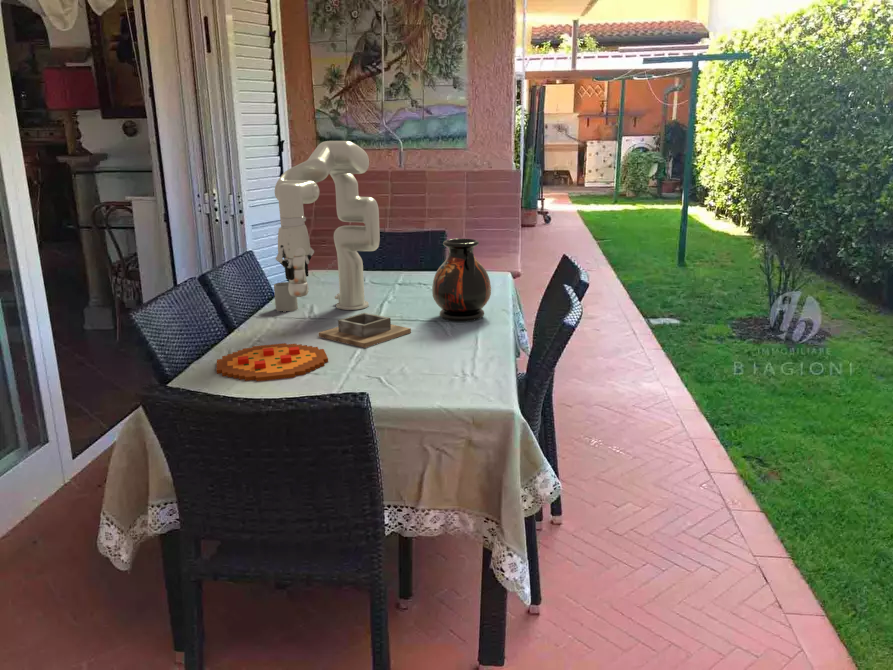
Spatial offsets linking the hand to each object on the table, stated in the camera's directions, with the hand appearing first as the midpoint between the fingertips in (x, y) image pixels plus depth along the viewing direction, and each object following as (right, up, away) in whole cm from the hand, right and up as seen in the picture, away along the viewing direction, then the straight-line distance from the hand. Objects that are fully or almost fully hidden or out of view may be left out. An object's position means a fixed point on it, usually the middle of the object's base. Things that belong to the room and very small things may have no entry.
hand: (297, 277), depth 238 cm
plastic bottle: (0, -6, +2) cm, 7 cm away
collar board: (+21, -19, +9) cm, 30 cm away
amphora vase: (+54, -12, +30) cm, 63 cm away
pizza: (-4, -28, -19) cm, 34 cm away
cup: (-13, -9, +46) cm, 48 cm away
